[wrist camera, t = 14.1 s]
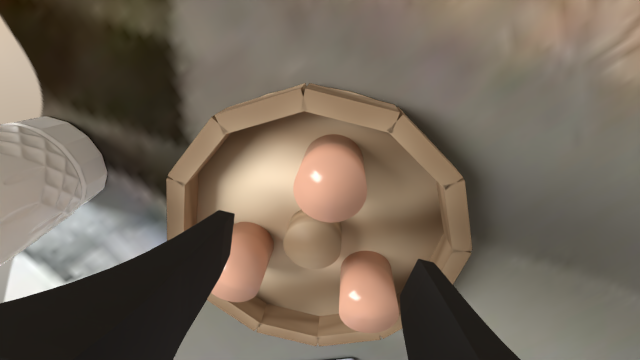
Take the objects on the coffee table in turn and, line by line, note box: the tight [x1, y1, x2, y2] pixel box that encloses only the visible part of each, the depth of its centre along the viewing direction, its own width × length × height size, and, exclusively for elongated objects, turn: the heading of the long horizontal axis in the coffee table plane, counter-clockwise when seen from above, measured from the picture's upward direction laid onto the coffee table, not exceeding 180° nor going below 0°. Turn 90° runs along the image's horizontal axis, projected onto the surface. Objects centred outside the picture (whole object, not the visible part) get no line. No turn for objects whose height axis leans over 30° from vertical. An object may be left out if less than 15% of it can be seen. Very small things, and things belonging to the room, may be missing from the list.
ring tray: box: [166, 83, 472, 346], centre depth 21 cm, size 20×20×3 cm
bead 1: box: [211, 222, 274, 302], centre depth 21 cm, size 4×4×4 cm
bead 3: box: [339, 251, 399, 333], centre depth 21 cm, size 4×4×4 cm
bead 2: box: [293, 134, 367, 223], centre depth 18 cm, size 4×4×4 cm
